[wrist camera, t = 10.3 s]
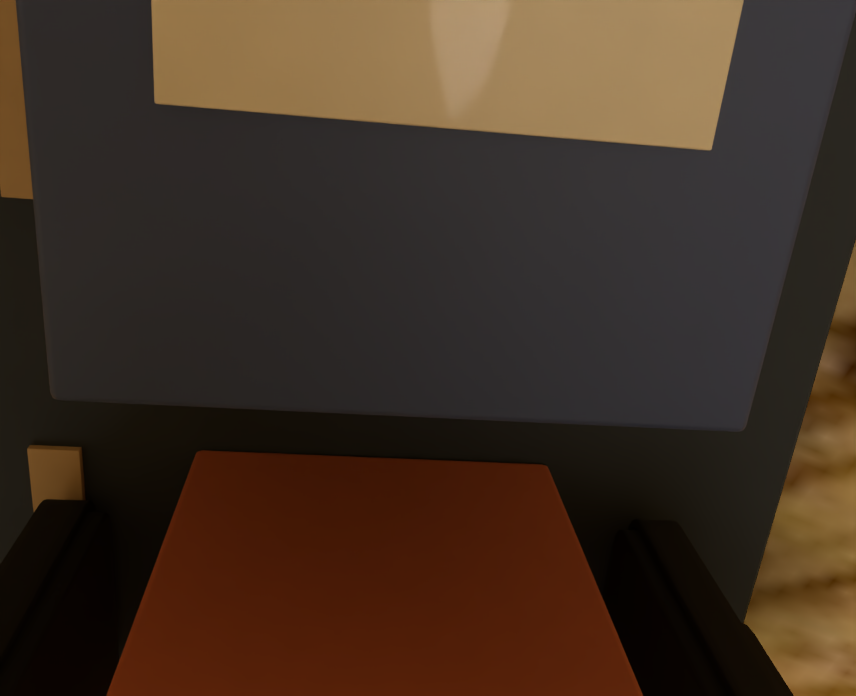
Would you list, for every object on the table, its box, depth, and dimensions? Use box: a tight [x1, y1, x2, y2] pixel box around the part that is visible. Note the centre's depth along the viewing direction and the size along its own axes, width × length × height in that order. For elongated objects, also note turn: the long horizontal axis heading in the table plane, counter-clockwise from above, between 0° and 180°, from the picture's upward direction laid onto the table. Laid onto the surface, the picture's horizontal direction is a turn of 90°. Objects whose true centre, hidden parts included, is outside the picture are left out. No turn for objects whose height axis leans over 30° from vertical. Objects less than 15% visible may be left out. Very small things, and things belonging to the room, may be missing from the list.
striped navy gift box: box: [15, 0, 856, 432], centre depth 6 cm, size 4×4×4 cm
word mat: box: [0, 0, 856, 660], centre depth 11 cm, size 22×11×1 cm, turn 175°
